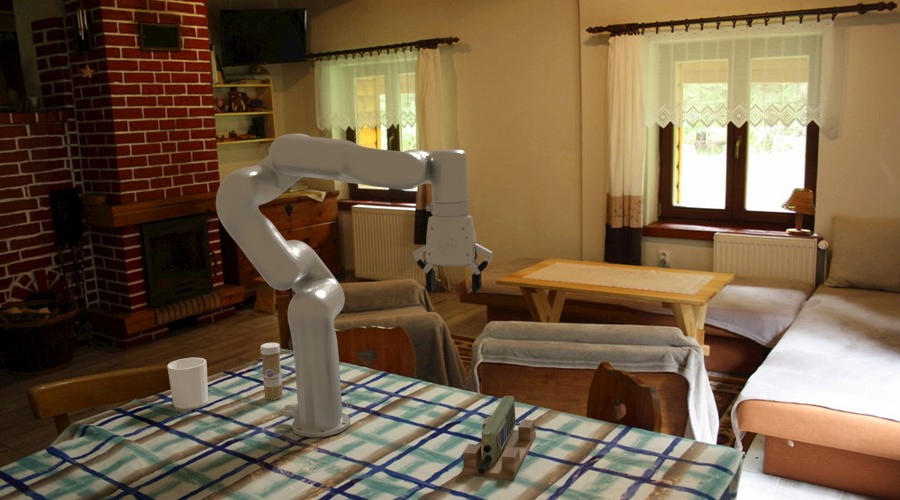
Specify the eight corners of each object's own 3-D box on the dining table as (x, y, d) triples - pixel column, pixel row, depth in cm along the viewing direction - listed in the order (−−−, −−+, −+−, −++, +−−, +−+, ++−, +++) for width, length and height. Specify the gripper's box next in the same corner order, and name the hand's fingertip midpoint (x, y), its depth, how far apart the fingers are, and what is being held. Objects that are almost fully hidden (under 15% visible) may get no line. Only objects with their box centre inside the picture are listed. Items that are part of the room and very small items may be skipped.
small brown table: (462, 474, 147) (461, 454, 146) (489, 432, 166) (488, 414, 165) (513, 480, 144) (513, 459, 143) (535, 436, 163) (535, 418, 162)
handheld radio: (518, 425, 166) (490, 478, 143) (503, 425, 167) (473, 477, 144) (516, 395, 165) (488, 444, 142) (501, 395, 166) (470, 443, 143)
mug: (218, 401, 191) (214, 360, 189) (188, 413, 183) (184, 371, 182) (188, 393, 197) (184, 354, 195) (158, 405, 189) (153, 364, 187)
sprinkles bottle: (264, 401, 189) (260, 348, 187) (264, 395, 193) (260, 343, 191) (283, 399, 190) (279, 346, 188) (283, 393, 194) (279, 341, 192)
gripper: (404, 212, 160) (408, 294, 163) (486, 212, 154) (489, 296, 157) (417, 207, 167) (421, 286, 170) (496, 207, 161) (498, 288, 164)
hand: (453, 291), depth 164 cm, fingers open, 9 cm apart
